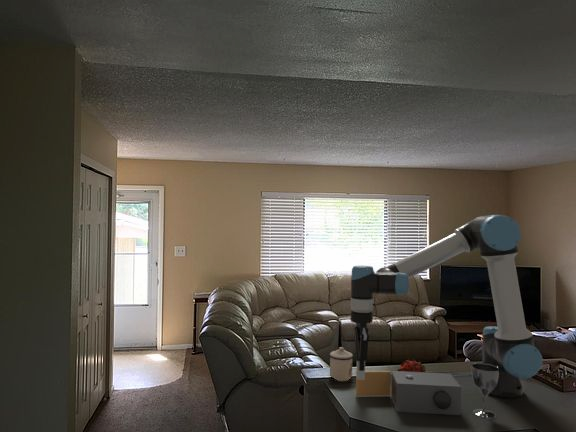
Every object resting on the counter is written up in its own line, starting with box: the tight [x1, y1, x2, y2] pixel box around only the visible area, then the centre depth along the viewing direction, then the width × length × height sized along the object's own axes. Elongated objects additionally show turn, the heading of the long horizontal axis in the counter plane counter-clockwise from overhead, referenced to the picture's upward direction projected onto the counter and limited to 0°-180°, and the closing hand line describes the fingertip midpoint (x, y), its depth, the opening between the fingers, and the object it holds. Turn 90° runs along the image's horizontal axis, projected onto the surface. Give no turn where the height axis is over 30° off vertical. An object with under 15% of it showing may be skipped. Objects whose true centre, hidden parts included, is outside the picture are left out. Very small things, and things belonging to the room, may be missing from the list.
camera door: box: [355, 370, 392, 397], centre depth 152 cm, size 12×1×8 cm, turn 95°
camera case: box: [390, 370, 462, 416], centre depth 144 cm, size 20×14×10 cm
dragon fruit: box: [396, 359, 427, 373], centre depth 168 cm, size 8×8×12 cm
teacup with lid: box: [329, 346, 354, 382], centre depth 171 cm, size 12×9×12 cm
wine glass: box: [471, 362, 499, 420], centre depth 140 cm, size 8×8×15 cm
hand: (360, 379), depth 151 cm, fingers closed
